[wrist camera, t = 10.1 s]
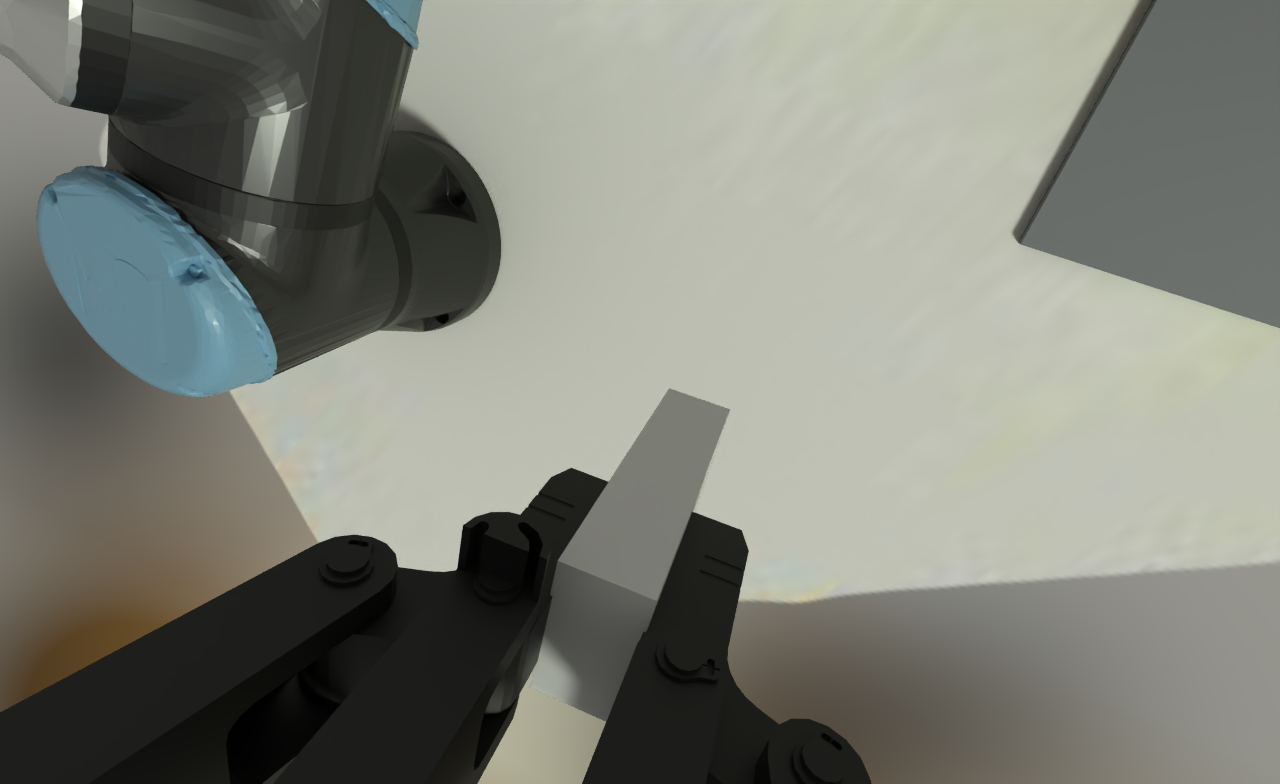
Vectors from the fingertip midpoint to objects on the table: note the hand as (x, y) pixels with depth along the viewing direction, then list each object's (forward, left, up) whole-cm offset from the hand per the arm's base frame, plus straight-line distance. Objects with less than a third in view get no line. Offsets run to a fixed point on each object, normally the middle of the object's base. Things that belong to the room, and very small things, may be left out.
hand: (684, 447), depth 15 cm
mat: (+21, +13, -30) cm, 39 cm away
